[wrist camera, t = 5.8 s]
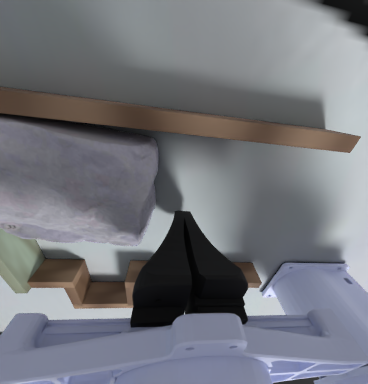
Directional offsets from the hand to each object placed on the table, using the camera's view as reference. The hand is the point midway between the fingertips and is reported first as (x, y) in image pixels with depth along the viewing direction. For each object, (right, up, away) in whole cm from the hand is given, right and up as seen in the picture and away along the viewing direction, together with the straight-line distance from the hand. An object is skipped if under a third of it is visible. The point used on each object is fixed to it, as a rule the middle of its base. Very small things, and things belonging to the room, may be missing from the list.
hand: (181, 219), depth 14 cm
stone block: (-8, +3, -1) cm, 9 cm away
